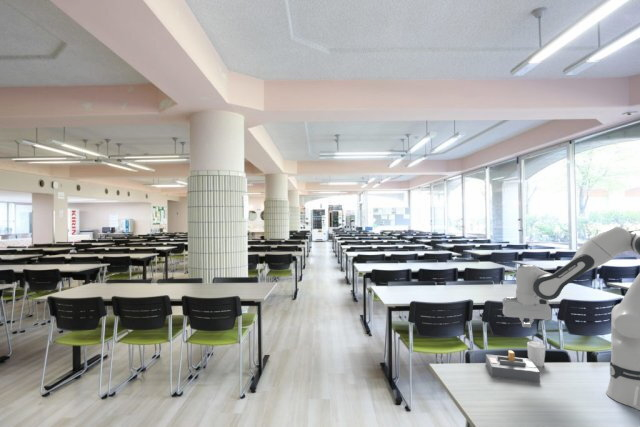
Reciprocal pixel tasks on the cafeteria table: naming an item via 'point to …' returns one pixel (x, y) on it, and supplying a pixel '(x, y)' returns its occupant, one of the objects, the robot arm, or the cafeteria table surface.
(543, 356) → the white cup
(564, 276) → the robot arm
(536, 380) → the breaker box
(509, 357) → the breaker toggle
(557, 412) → the cafeteria table surface
